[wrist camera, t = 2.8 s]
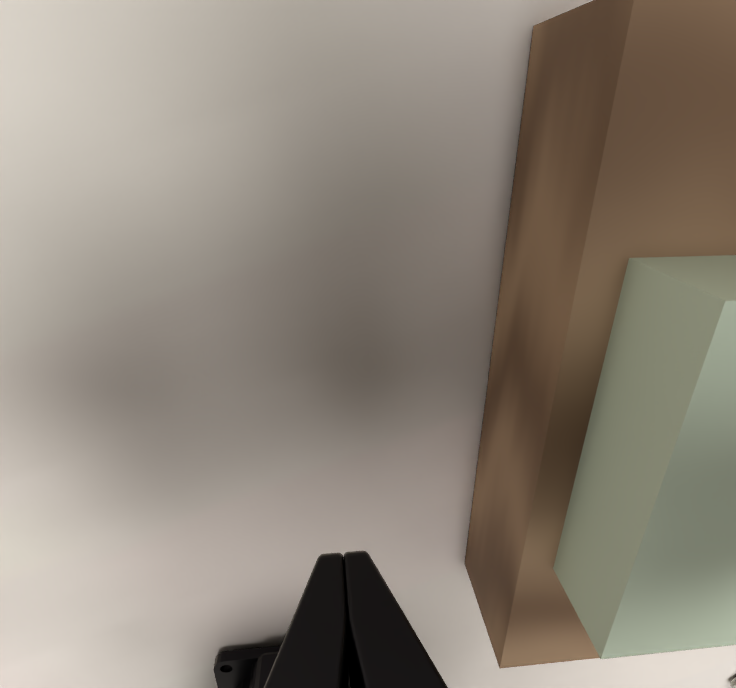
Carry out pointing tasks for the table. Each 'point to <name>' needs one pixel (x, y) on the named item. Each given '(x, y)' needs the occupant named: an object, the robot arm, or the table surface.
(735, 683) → the skincare box
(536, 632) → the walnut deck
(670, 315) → the sage tile
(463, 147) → the table surface
